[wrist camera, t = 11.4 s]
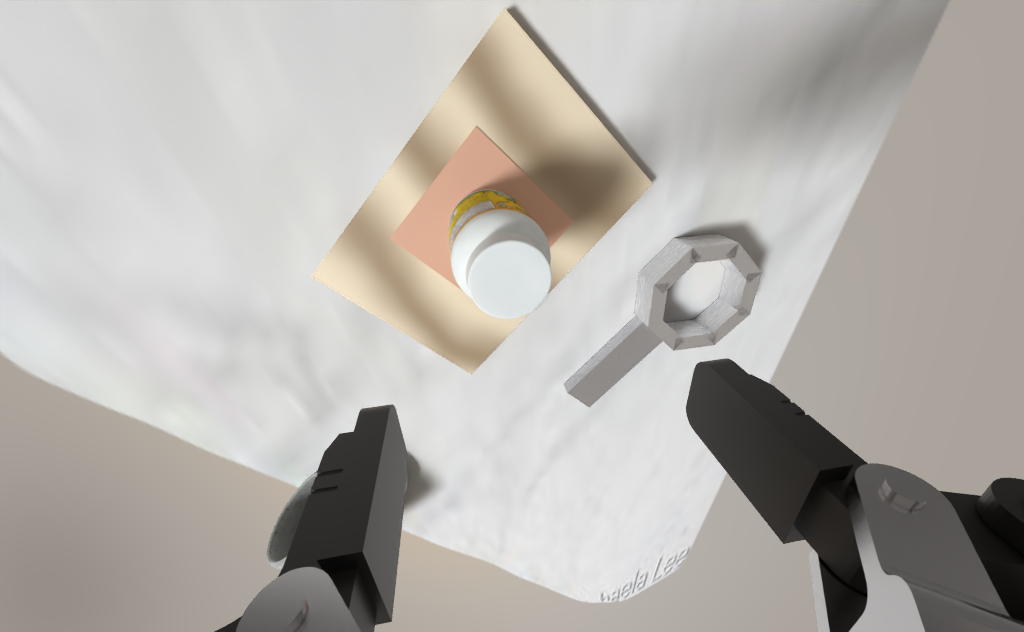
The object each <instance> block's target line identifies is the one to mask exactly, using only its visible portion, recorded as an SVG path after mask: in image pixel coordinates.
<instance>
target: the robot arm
mask: <svg viewBox="0 0 1024 632" xmlns="http://www.w3.org/2000/svg"><path fill="white" fill-rule="evenodd" d="M686 413H687V417H688V420H689V423H690V425H691V427H692V428H693V430H694V431H695V432H696V434H697V435H698V436H699V437H700V439H701V440H702V441H703V442H704V444H705V445H706V446H707V447H708V449H709V450H710V451H711V453H712V454H713V455H714V456H715V458H716V459H717V460H718V461H719V463H720V464H721V465H722V466H723V468H724V469H725V470H726V472H727V473H728V474H729V475H730V477H731V478H732V479H733V480H734V482H735V483H736V484H737V485H738V487H739V488H740V489H741V491H742V492H743V493H744V494H745V496H746V497H747V498H748V499H749V501H750V502H751V503H752V504H753V506H754V507H755V508H756V509H757V511H758V512H759V513H760V514H761V516H762V517H763V518H764V520H765V521H766V522H767V523H768V525H769V526H770V527H771V528H772V530H773V531H774V532H775V534H776V535H777V536H778V537H779V539H780V540H781V541H782V542H783V544H785V543H790V542H795V541H800V540H804V539H805V540H806V541H807V542H808V543H809V544H810V546H811V547H812V549H811V551H810V554H809V563H810V571H811V578H812V586H813V593H814V600H815V608H816V615H817V623H818V630H819V632H1024V480H1022V479H1016V478H1000V479H997V480H995V481H994V482H993V483H992V484H991V485H990V486H989V487H988V488H987V490H986V491H985V492H984V493H983V494H982V496H977V495H969V494H960V493H952V492H943V491H938V490H937V489H936V488H934V487H933V486H932V485H930V484H929V483H927V482H926V481H924V480H922V479H921V478H919V477H917V476H915V475H913V474H911V473H909V472H906V471H904V470H901V469H898V468H895V467H892V466H888V465H884V464H868V463H867V462H865V461H864V460H863V459H861V458H860V457H859V456H858V455H857V454H855V453H854V452H853V451H852V450H851V449H849V448H848V447H847V446H846V445H845V444H843V443H842V442H841V441H840V440H838V439H837V438H836V437H835V436H834V435H832V434H831V433H830V432H829V431H827V430H826V429H825V428H824V427H823V426H821V425H820V424H819V423H818V422H816V421H815V420H814V419H813V418H812V417H811V416H809V415H805V412H804V411H803V410H802V409H801V408H800V407H798V406H797V405H796V404H795V403H791V402H790V399H789V398H787V397H786V396H785V395H784V394H783V393H781V392H780V391H779V390H778V389H776V388H775V387H774V386H773V385H771V384H769V383H767V382H765V381H763V380H761V379H759V378H757V377H755V376H753V375H749V374H748V373H747V372H745V371H744V370H743V369H742V368H741V367H740V366H738V365H737V364H736V363H735V362H734V361H732V360H730V359H719V360H712V361H705V362H700V363H698V364H697V365H696V367H695V369H694V373H693V378H692V382H691V387H690V391H689V396H688V400H687V405H686ZM407 471H408V463H407V452H406V447H405V443H404V439H403V435H402V431H401V427H400V424H399V420H398V416H397V412H396V409H395V406H394V405H385V406H378V407H371V408H364V409H361V411H360V413H359V416H358V419H357V423H356V426H355V429H354V432H349V433H342V434H339V435H338V436H337V438H336V439H335V440H334V441H333V442H332V444H331V445H330V446H329V447H328V449H327V450H326V451H325V452H324V455H323V457H322V460H321V463H320V466H319V468H318V471H317V477H315V480H314V482H313V485H312V488H311V494H310V495H309V496H308V499H307V502H306V505H305V507H304V510H303V513H302V516H301V518H300V521H299V524H298V527H297V530H296V532H295V535H294V538H293V541H292V543H291V546H290V549H289V552H288V555H287V557H286V560H285V563H284V565H283V568H282V570H281V572H280V574H279V576H278V578H276V579H275V580H273V581H272V582H271V583H269V584H268V585H267V586H266V587H265V588H263V589H262V590H261V591H260V592H259V593H258V595H257V596H256V597H255V598H254V599H253V600H252V602H251V603H250V604H249V606H248V607H247V609H246V610H245V612H244V614H243V616H241V617H240V618H238V619H237V620H235V621H234V622H232V623H230V624H228V625H227V626H225V627H223V628H221V629H219V630H217V631H215V632H374V627H375V625H377V624H382V623H387V622H391V621H392V613H393V603H394V594H395V585H396V575H397V566H398V557H399V547H400V537H401V529H402V519H403V510H404V501H405V491H406V482H407Z"/></svg>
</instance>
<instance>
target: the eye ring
mask: <svg viewBox="0 0 1024 632" xmlns="http://www.w3.org/2000/svg"><path fill="white" fill-rule="evenodd" d="M715 260H718V261H719V262H720V263H721V264H722V265H723V267H724V268H725V272H724V276H723V280H722V285H721V289H720V293H719V298H718V299H716V300H715V301H714V302H713V303H712V304H711V305H710V306H709V307H708V308H706V309H705V310H704V311H703V312H702V313H701V314H700V315H699V316H697V317H696V318H695V319H693V320H686V321H678V322H670V323H666V322H665V321H663V317H664V311H665V304H666V298H667V292H668V288H670V287H671V286H672V285H673V284H674V283H675V282H676V281H677V280H678V279H679V278H680V277H681V276H682V275H683V274H684V273H685V272H686V271H687V270H689V269H690V268H691V267H692V266H693V265H694V264H695V263H697V262H706V261H715ZM761 274H762V272H761V270H760V269H759V268H758V267H757V265H756V264H755V263H754V261H753V260H752V259H751V258H750V256H749V255H748V254H747V252H746V251H745V250H744V249H743V247H742V246H741V245H740V243H738V242H736V241H734V240H731V239H729V238H727V237H724V236H722V235H719V234H709V235H699V236H689V237H680V238H673V239H672V240H671V241H670V242H669V243H668V244H667V245H666V246H665V247H664V248H663V249H662V250H661V251H660V252H659V253H658V254H657V255H656V256H655V257H654V258H653V259H652V260H651V261H650V262H649V263H648V264H647V265H646V266H645V267H644V268H643V269H642V270H641V271H640V272H639V275H638V283H637V292H636V301H635V309H634V314H635V315H636V316H635V317H634V318H633V319H632V320H631V321H630V322H629V323H628V324H627V325H626V326H625V327H624V328H622V329H621V330H620V331H619V332H618V333H617V334H616V335H615V336H614V337H613V338H612V339H611V340H610V341H609V342H608V343H607V344H606V345H605V346H604V347H602V348H601V349H600V350H599V351H598V352H597V353H596V354H595V355H594V356H593V357H592V358H591V359H590V360H589V361H588V362H587V363H586V364H585V365H584V366H582V367H581V368H580V369H579V370H578V371H577V372H576V373H575V374H574V375H573V376H572V377H571V378H570V379H569V380H568V381H567V382H566V383H565V384H564V386H565V388H566V390H567V393H569V394H570V395H572V396H573V397H575V398H576V399H578V400H579V401H581V402H582V403H584V404H585V405H587V406H588V407H590V406H591V405H593V404H594V403H595V402H596V401H597V400H598V399H599V398H600V397H601V396H602V395H604V394H605V393H606V392H607V391H608V390H609V389H610V388H611V387H612V386H614V385H615V384H616V383H617V382H618V381H619V380H620V379H621V378H622V377H623V376H625V375H626V374H627V373H628V372H629V371H630V370H631V369H632V368H633V367H635V366H636V365H637V364H638V363H639V362H640V361H641V360H642V359H643V358H644V357H646V356H647V355H648V354H649V353H650V352H651V351H652V350H653V349H654V348H656V347H657V346H658V345H659V344H660V343H661V342H662V341H664V342H665V343H666V344H667V345H668V346H669V347H670V348H671V349H672V350H681V349H688V348H696V347H703V346H710V345H715V344H716V343H717V342H718V341H719V340H721V339H722V338H723V337H724V336H725V335H726V334H728V333H729V332H730V331H731V330H732V329H733V328H735V327H736V326H737V325H738V324H739V323H740V322H742V321H743V320H744V319H745V318H746V317H747V316H748V315H750V313H751V309H752V306H753V302H754V298H755V295H756V291H757V288H758V284H759V281H760V277H761Z"/></svg>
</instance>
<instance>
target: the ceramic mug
mask: <svg viewBox="0 0 1024 632" xmlns="http://www.w3.org/2000/svg"><path fill="white" fill-rule="evenodd" d="M315 477H317V472H316V473H315V474H313V475H312V476H311V477H309V478H308V479H307V480H306V481H305V482H304V483H303V484H302V485H301V486H300V487H299V488H298V490H297V491H296V492H295V494H294V495H293V496H292V497H291V499H290V500H289V502H288V503H287V504H286V506H285V507H284V509H283V511H282V513H281V515H280V517H279V518H278V520H277V523H276V525H275V527H274V530H273V532H272V534H271V537H270V540H269V544H268V548H267V561H268V563H269V565H270V566H272V567H274V568H276V569H281V570H282V568H283V565H284V563H285V560H286V557H287V555H288V552H289V549H290V546H291V543H292V541H293V538H294V535H295V532H296V530H297V527H298V524H299V521H300V518H301V516H302V513H303V510H304V507H305V505H306V502H307V499H308V496H309V495H310V494H311V488H312V485H313V482H314V480H315ZM407 482H408V480H407ZM407 482H406V491H407ZM406 491H405V494H406Z"/></svg>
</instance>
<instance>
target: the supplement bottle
mask: <svg viewBox="0 0 1024 632" xmlns="http://www.w3.org/2000/svg"><path fill="white" fill-rule="evenodd" d="M449 245H450V259H451V267H452V272H453V275H454V277H455V280H456V282H457V283H458V285H459V287H460V288H461V289H462V290H463V292H464V293H465V294H467V295H468V296H469V297H470V298H472V300H473V301H474V303H475V304H476V305H477V306H478V307H479V308H480V309H481V310H482V311H483V312H485V313H486V314H488V315H491V316H493V317H496V318H501V319H513V318H518V317H522V316H525V315H527V314H529V313H530V312H532V311H534V310H535V309H536V308H537V307H538V306H540V304H541V303H542V302H543V301H544V299H545V298H546V296H547V295H548V293H549V290H550V287H551V281H552V273H551V267H550V262H551V253H550V247H549V243H548V240H547V238H546V236H545V234H544V232H543V231H542V229H541V228H540V226H539V225H538V224H537V223H536V222H535V221H534V220H533V219H532V218H531V217H530V215H529V214H528V213H527V212H526V211H525V210H524V209H523V208H522V206H521V205H520V204H519V203H518V202H517V201H516V200H515V199H513V198H512V197H511V196H509V195H507V194H505V193H502V192H500V191H496V190H491V189H484V190H478V191H475V192H473V193H470V194H469V195H467V196H466V197H464V198H463V199H462V200H461V201H460V202H459V203H458V204H457V205H456V207H455V208H454V210H453V212H452V214H451V217H450V221H449Z"/></svg>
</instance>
